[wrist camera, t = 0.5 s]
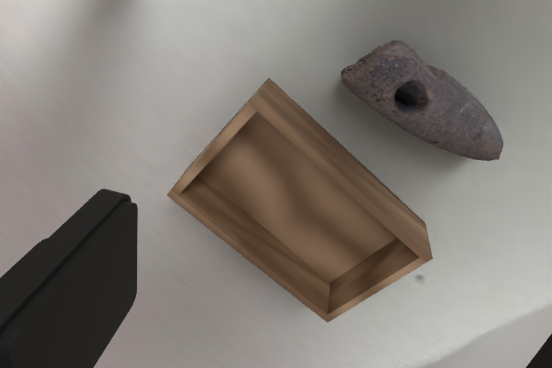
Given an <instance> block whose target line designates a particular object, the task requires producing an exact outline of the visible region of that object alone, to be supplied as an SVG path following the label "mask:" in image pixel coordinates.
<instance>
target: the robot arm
mask: <svg viewBox="0 0 552 368" xmlns="http://www.w3.org/2000/svg"><path fill="white" fill-rule="evenodd" d="M137 216H138V209H137V205H136V204H135V203H132V202H131V198H130V196H129V195H127V194H123V193H119V192H115V191H111V190H107V189H101V190H100V191H98V192H97V193H96V194H95V195H94V196H93V197H92V198H91V199H90V200H89V201H88V202H86V203H85V204H84V205H83V206H82V207H81V208H80V209H79V210H78V211H77V212H76V213H75V214H74V215H73V216H72V217H70V218H69V219H68V220H67V221H66V222H65V223H64V224H63V225H62V226H61V227H60V228H59V229H58V230H57V231H56V232H54V233H53V234H52V235H51V236H50V237H49V238H47V239H44V240H42V241H41V242H39V243H38V244H37V245H36V246H35V247H33V248H32V249H31V250H30V251H29V252H28V253H27V254H26V255H25V256H24V257H23V258H22V259H20V260H19V261H18V262H17V263H16V264H15V265H14V266H13V267H12V268H11V269H10V270H9V271H7V272H6V273H5V274H4V275H3V276H2V277H1V278H0V368H93V367H94V366H95V364H96V363H97V361H98V359H99V358H100V356H101V355H102V353H103V352H104V350H105V348H106V347H107V345H108V344H109V342H110V340H111V339H112V337H113V336H114V334H115V332H116V331H117V329H118V328H119V326H120V325H121V323H122V321H123V320H124V318H125V317H126V315H127V313H128V312H129V310H130V309H131V307H132V305H133V303H134V300H135V297H136V293H137ZM526 368H552V334H551V335H550V337H549V338H548V339H547V341H546V342H545V343H544V345H543V346H542V347H541V349H540V350H539V351H538V353H537V354H536V355H535V357H534V358H533V359H532V360H531V362H530V363H529V364H528V366H527V367H526Z"/></svg>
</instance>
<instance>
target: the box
mask: <svg viewBox="0 0 552 368" xmlns="http://www.w3.org/2000/svg"><path fill="white" fill-rule="evenodd" d="M167 196H169V197H170V198H171V199H172V200H174V201H175V202H176V203H177V204H179V205H180V206H181V207H182V208H184V209H185V210H186V211H187V212H189V213H190V214H191V215H193V216H194V217H195V218H196V219H198V220H199V221H200V222H201V223H203V224H204V225H205V226H206V227H208V228H209V229H210V230H211V231H213V232H214V233H215V234H216V235H218V236H219V237H220V238H222V239H223V240H224V241H225V242H227V243H228V244H229V245H230V246H232V247H233V248H234V249H235V250H237V251H238V252H239V253H240V254H242V255H243V256H244V257H245V258H247V259H248V260H249V261H251V262H252V263H253V264H254V265H256V266H257V267H258V268H259V269H261V270H262V271H263V272H264V273H266V274H267V275H268V276H269V277H271V278H272V279H273V280H274V281H276V282H277V283H278V284H280V285H281V286H282V287H283V288H285V289H286V290H287V291H288V292H290V293H291V294H292V295H293V296H295V297H296V298H297V299H298V300H300V301H301V302H302V303H303V304H305V305H306V306H307V307H309V308H310V309H311V310H312V311H314V312H315V313H316V314H317V315H319V316H320V317H321V318H322V319H324V320H325V321H326V322H327V323H328V322H329V321H331V320H333V319H334V318H336V317H337V316H339V315H341V314H342V313H344V312H346V311H347V310H349V309H351V308H352V307H354V306H356V305H357V304H359V303H360V302H362V301H364V300H365V299H367V298H369V297H370V296H372V295H374V294H375V293H377V292H378V291H380V290H382V289H383V288H385V287H387V286H388V285H390V284H392V283H393V282H395V281H396V280H398V279H400V278H401V277H403V276H405V275H406V274H408V273H410V272H411V271H413V270H415V269H416V268H418V267H419V266H421V265H423V264H424V263H426V262H428V261H429V260H431V259H433V257H432V253H431V248H430V243H429V239H428V234H427V229H426V225H425V223H424V222H423V221H422V220H421V219H420V218H419V217H418V216H417V215H416V214H415V213H414V212H413V211H412V210H410V209H409V208H408V207H407V206H406V205H405V204H404V203H403V202H402V201H401V200H400V199H399V198H398V197H397V196H395V195H394V194H393V193H392V192H391V191H390V190H389V189H388V188H387V187H386V186H385V185H384V184H383V183H381V182H380V181H379V180H378V179H377V178H376V177H375V176H374V175H373V174H372V173H371V172H370V171H369V170H368V169H366V168H365V167H364V166H363V165H362V164H361V163H360V162H359V161H358V160H357V159H356V158H355V157H354V156H352V155H351V154H350V153H349V152H348V151H347V150H346V149H345V148H344V147H343V146H342V145H341V144H340V143H338V142H337V141H336V140H335V139H334V138H333V137H332V136H331V135H330V134H329V133H328V132H327V131H326V130H325V129H323V128H322V127H321V126H320V125H319V124H318V123H317V122H316V121H315V120H314V119H313V118H312V117H311V116H309V115H308V114H307V113H306V112H305V111H304V110H303V109H302V108H301V107H300V106H299V105H298V104H297V103H296V102H294V101H293V100H292V99H291V98H290V97H289V96H288V95H287V94H286V93H285V92H284V91H283V90H282V89H280V88H279V87H278V86H277V85H276V84H275V83H274V82H273V81H272V80H271V79H270V78H268V80H267V81H266V82H265V83H264V84H263V85H262V86H261V87H260V88H259V90H258V91H257V92H256V93H255V94H254V95H253V96H252V97H251V98H250V99H249V101H248V102H247V103H246V104H245V105H244V106H243V107H242V108H241V109H240V111H239V112H238V113H237V114H236V115H235V116H234V117H233V118H232V119H231V121H230V122H229V123H228V124H227V125H226V126H225V127H224V128H223V129H222V131H221V132H220V133H219V134H218V135H217V136H216V137H215V138H214V139H213V141H212V142H211V143H210V144H209V145H208V146H207V147H206V148H205V149H204V151H203V152H202V153H201V154H200V155H199V156H198V157H197V158H196V159H195V160H194V162H193V163H192V164H191V165H190V166H189V167H188V168H187V170H186V171H185V172H184V174H183V175H182V176H181V177H180V179H179V180H178V181H177V183H176V184H175V185H174V187H173V188H172V189H171V190H170V192H169V193H168V194H167Z"/></svg>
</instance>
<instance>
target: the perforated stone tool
mask: <svg viewBox="0 0 552 368" xmlns="http://www.w3.org/2000/svg"><path fill="white" fill-rule="evenodd" d="M341 77H342V82H343V84H344V85H345V86H347V87H348V88H349V89H350V90H351V91H352V92H353V93H354V94H356V95H357V96H358V97H359V98H361V99H362V100H363V101H364V102H366V103H367V104H368V105H369V106H371V107H372V108H374V109H375V110H376V111H378V112H379V113H380V114H382V115H383V116H385V117H386V118H388V119H389V120H391V121H392V122H394V123H395V124H397V125H398V126H400V127H401V128H403V129H404V130H406V131H408V132H410V133H411V134H413V135H415V136H417V137H418V138H420V139H422V140H424V141H426V142H429V143H430V144H433V145H435V146H436V147H439V148H442V149H444V150H447V151H450V152H452V153H455V154H457V155H460V156H464V157H467V158H471V159H476V160H487V161H490V160H495V159H499V157H500V154H501V151H502V148H503V140H502V136H501V134H500V132H499V129H498V127H497V126H496V124H495V122H494V120H493V119H492V117H491V116H490V115H489V113H488V112H487V110H486V109H485V108H484V106H483V105H482V104H481V103H480V102H479V101H478V100H477V99H476V98H475V97H474V96H473V95H471V94H470V93H469V92H468V91H467V90H466V89H465V88H464V87H463V86H462V85H461V84H459V83H458V82H457V81H456V80H455V79H453V78H452V77H451V76H449V75H448V74H447V73H446V72H444V71H442V70H439V69H437V68H434V67H432V66H426V65H424V64H423V63H422V61H421V60H420V59H419V58H418V56H417V55H416V54H415V52H414V51H413V50H412V49H410V48H409V47H408V46H407V45H405V44H404V43H403V42H401V41H392V42H390V43H388V44H385V45H384V46H383V47H381V46H380V47H378V48H377V49H375V50H374V51H372V52H371V53H369V54H368V55H366V56H365V57H363V58H361V59H360V60H359V61H358V62H357V63H356V64H355V65H351V66H348V67H347V68H344V69H343V70H342V71H341Z"/></svg>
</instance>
